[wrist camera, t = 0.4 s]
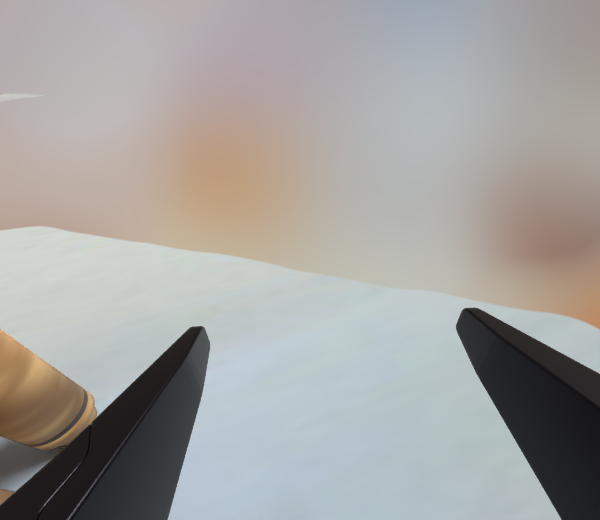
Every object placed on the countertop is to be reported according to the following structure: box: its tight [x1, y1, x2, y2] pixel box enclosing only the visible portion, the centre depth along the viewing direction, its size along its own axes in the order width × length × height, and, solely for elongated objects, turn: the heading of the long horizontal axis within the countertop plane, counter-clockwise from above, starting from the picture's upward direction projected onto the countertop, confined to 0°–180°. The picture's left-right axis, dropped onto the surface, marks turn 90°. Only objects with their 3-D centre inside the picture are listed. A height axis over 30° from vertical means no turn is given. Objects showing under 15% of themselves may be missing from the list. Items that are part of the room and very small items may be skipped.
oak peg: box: [0, 330, 97, 450], centre depth 15 cm, size 4×4×14 cm
